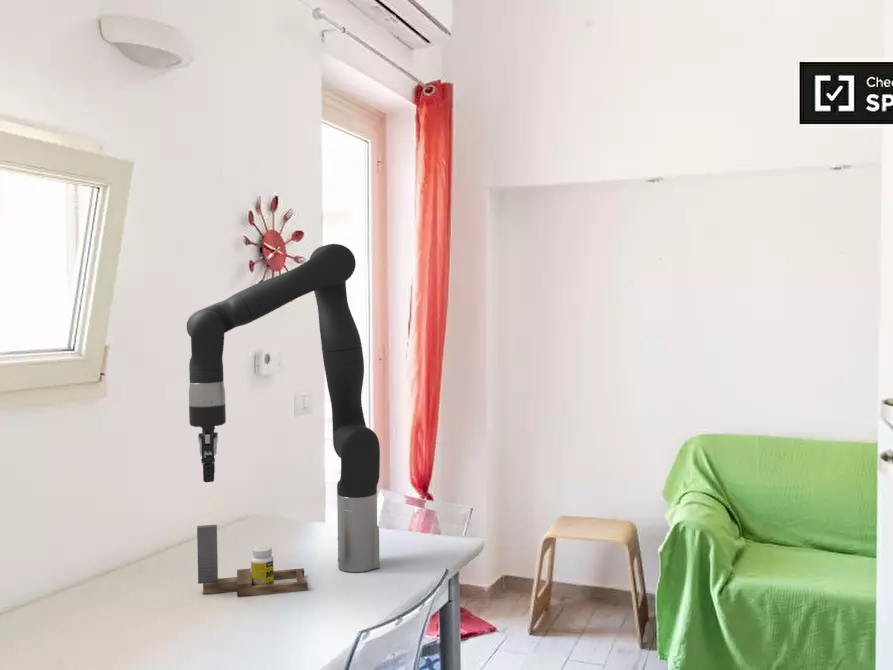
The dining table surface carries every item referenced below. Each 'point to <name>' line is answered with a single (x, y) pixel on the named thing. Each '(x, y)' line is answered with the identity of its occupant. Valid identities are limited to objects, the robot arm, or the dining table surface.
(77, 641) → the dining table surface
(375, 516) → the robot arm
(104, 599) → the dining table surface
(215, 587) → the strip frame
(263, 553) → the supplement bottle
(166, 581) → the dining table surface
